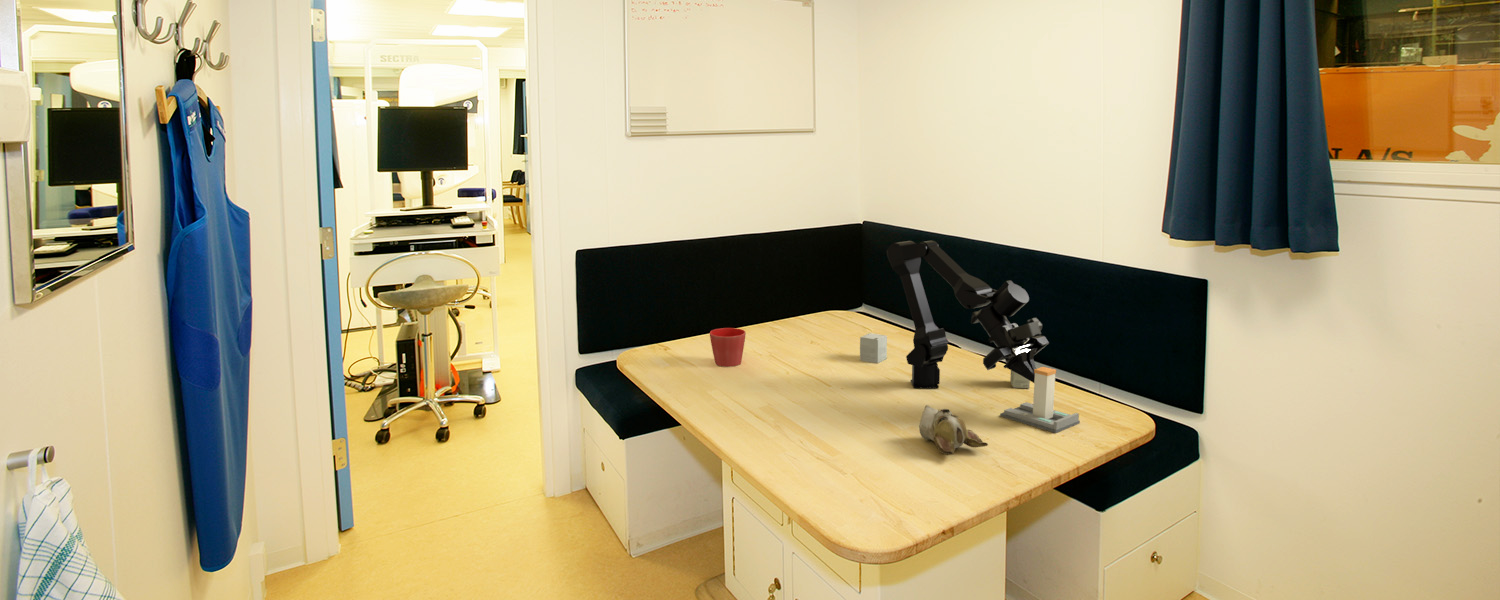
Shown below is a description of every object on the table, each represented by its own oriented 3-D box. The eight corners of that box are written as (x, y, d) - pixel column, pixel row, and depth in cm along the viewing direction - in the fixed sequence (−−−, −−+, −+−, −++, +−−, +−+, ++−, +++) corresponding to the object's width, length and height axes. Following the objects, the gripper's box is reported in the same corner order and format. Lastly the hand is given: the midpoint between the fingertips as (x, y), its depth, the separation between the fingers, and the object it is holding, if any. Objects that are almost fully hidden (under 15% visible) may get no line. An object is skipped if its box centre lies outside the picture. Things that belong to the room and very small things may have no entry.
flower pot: (753, 361, 240) (752, 329, 238) (733, 370, 231) (732, 338, 229) (724, 356, 246) (723, 325, 244) (703, 365, 237) (702, 333, 235)
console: (999, 416, 190) (1000, 406, 189) (1024, 407, 196) (1024, 397, 195) (1055, 433, 178) (1056, 423, 178) (1079, 423, 184) (1080, 413, 184)
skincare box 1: (868, 356, 243) (869, 332, 242) (887, 358, 240) (887, 335, 238) (859, 360, 238) (859, 336, 237) (877, 363, 235) (878, 339, 233)
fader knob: (1031, 416, 186) (1034, 369, 184) (1040, 413, 188) (1043, 366, 186) (1044, 420, 184) (1047, 372, 181) (1053, 417, 186) (1056, 369, 183)
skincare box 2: (1030, 388, 209) (1032, 343, 207) (1012, 388, 210) (1014, 343, 208) (1026, 381, 215) (1029, 337, 213) (1009, 380, 216) (1011, 336, 214)
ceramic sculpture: (945, 394, 179) (992, 418, 166) (943, 430, 181) (989, 456, 168) (906, 402, 175) (951, 427, 162) (904, 439, 177) (948, 467, 164)
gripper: (995, 314, 181) (1036, 371, 175) (1043, 302, 192) (1083, 356, 186) (966, 341, 189) (1004, 397, 183) (1013, 328, 200) (1051, 381, 194)
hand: (1037, 382), depth 186 cm, fingers closed, pressing on fader knob
